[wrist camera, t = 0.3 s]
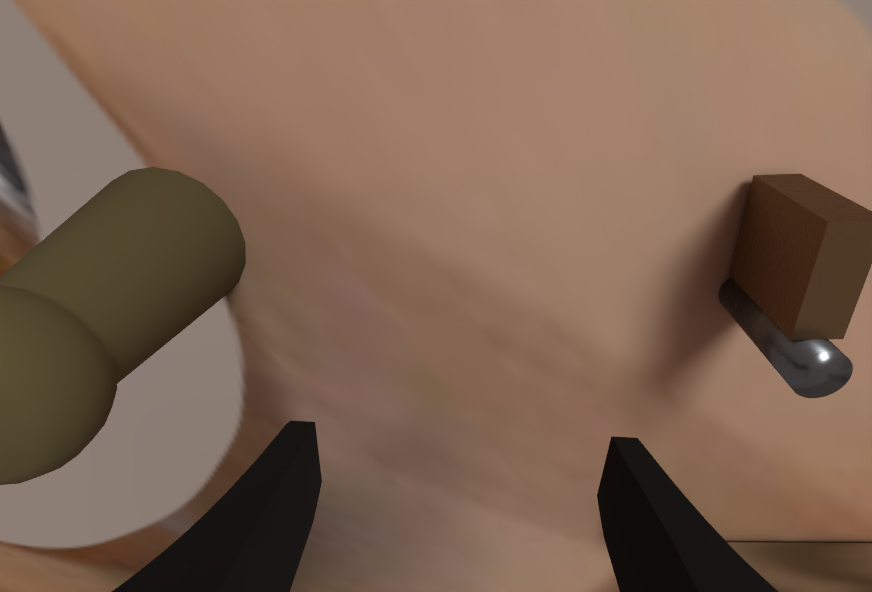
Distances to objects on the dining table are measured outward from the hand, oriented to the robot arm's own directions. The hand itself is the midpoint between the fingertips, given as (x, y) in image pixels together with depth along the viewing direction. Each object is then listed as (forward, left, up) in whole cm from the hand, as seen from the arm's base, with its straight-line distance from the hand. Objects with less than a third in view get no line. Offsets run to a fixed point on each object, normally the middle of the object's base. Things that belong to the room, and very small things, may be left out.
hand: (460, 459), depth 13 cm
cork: (+2, +12, -10) cm, 16 cm away
